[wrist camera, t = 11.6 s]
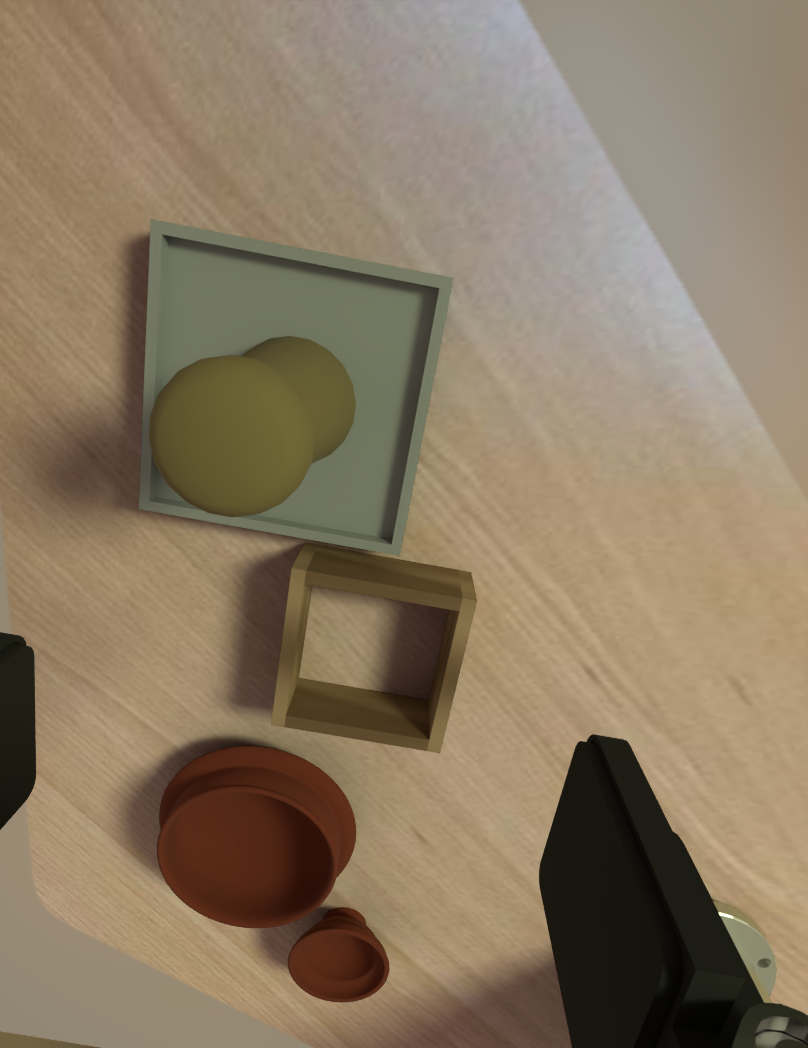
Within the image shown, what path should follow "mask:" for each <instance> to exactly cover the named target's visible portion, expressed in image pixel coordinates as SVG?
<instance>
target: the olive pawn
mask: <svg viewBox="0 0 808 1048" xmlns="http://www.w3.org/2000/svg"><path fill="white" fill-rule="evenodd" d="M355 408H356V401H355V395H354V388H353V383H352V381H351V379H350V377H349V375H348V373H347V371H346V369H345V367H344V365H343V364H342V363H341V362H340V361H339V360H338V359H337V358H336V357H335V356H334V355H333V354H332V353H331V352H330V351H329V350H328V349H326V348H325V347H323V346H321V345H319V344H317V343H316V342H314V341H312V340H310V339H305V338H299V337H294V336H284V337H277V338H270V339H268V340H266V341H264V342H262V343H260V344H258V345H256V346H254V347H253V348H251V349H250V350H249V351H247V352H246V353H245V354H243V355H242V356H236V355H226V356H219V357H212V358H205V359H200V360H198V361H196V362H194V363H192V364H190V365H189V366H187V367H185V368H183V369H181V370H179V371H178V372H177V373H176V374H175V375H174V377H173V378H172V379H171V380H170V381H169V382H168V383H167V384H166V385H165V387H164V388H163V389H162V390H161V391H160V393H159V394H158V396H157V399H156V402H155V404H154V407H153V409H152V412H151V414H150V422H149V443H150V447H151V451H152V454H153V458H154V462H155V465H156V466H157V468H158V470H159V471H160V473H161V474H162V476H163V478H164V479H165V481H166V483H167V484H168V486H169V487H171V488H172V489H173V490H174V491H175V492H176V493H177V494H178V495H179V496H180V497H181V498H183V499H184V500H185V501H186V502H187V503H189V504H191V505H193V506H195V507H197V508H199V509H201V510H203V511H205V512H207V513H210V514H216V515H221V516H227V517H240V516H248V515H256V514H260V513H263V512H265V511H267V510H269V509H271V508H273V507H275V506H278V505H280V504H282V503H283V502H284V501H285V500H286V499H287V498H288V497H289V496H290V495H291V494H292V493H293V492H294V491H295V490H296V489H297V488H298V487H299V486H300V484H301V483H302V481H303V479H304V477H305V475H306V473H307V471H308V469H309V467H310V465H311V464H312V463H314V462H316V461H318V460H321V459H323V458H325V457H327V456H329V455H331V454H332V453H333V452H334V451H335V450H336V449H337V448H338V447H339V446H340V445H341V444H342V443H343V442H344V441H345V439H346V437H347V435H348V433H349V431H350V429H351V427H352V425H353V421H354V414H355Z"/></svg>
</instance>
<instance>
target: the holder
mask: <svg viewBox="0 0 808 1048" xmlns="http://www.w3.org/2000/svg"><path fill="white" fill-rule="evenodd" d="M312 585H313V586H319V587H325V588H330V589H336V590H342V591H347V592H353V593H358V594H364V595H370V596H375V597H381V598H387V599H392V600H398V601H404V602H409V603H415V604H421V605H426V606H432V607H438V608H443V609H449V613H448V618H447V622H446V626H445V631H444V635H443V640H442V644H441V648H440V653H439V657H438V662H437V666H436V670H435V675H434V679H433V683H432V688H431V692H430V697H429V700H424V699H418V698H412V697H406V696H400V695H395V694H389V693H383V692H377V691H371V690H365V689H360V688H354V687H348V686H342V685H336V684H331V683H325V682H319V681H313V680H307V679H301V678H299V673H300V666H301V659H302V652H303V645H304V639H305V632H306V625H307V618H308V611H309V604H310V597H311V590H312ZM476 603H477V599H476V594H475V589H474V584H473V579H472V574H471V572H466V571H460V570H455V569H449V568H444V567H438V566H432V565H427V564H421V563H416V562H410V561H404V560H399V559H393V558H388V557H382V556H377V555H371V554H365V553H360V552H354V551H349V550H343V549H337V548H332V547H326V546H321V545H315V544H309V543H305V544H304V546H303V547H302V549H301V551H300V553H299V555H298V557H297V559H296V561H295V563H294V564H293V566H292V568H291V576H290V584H289V591H288V599H287V606H286V614H285V622H284V629H283V637H282V644H281V652H280V660H279V667H278V675H277V682H276V690H275V698H274V705H273V713H272V720H271V725H276V726H282V727H288V728H294V729H300V730H306V731H312V732H318V733H324V734H330V735H335V736H341V737H347V738H353V739H359V740H365V741H371V742H377V743H383V744H389V745H395V746H401V747H407V748H412V749H418V750H424V751H430V752H436V753H440V751H441V747H442V743H443V739H444V734H445V730H446V726H447V722H448V718H449V714H450V710H451V706H452V702H453V697H454V693H455V689H456V685H457V681H458V677H459V673H460V669H461V665H462V660H463V656H464V652H465V648H466V644H467V640H468V636H469V632H470V628H471V623H472V619H473V615H474V611H475V607H476Z"/></svg>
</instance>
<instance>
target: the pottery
mask: <svg viewBox="0 0 808 1048" xmlns="http://www.w3.org/2000/svg"><path fill="white" fill-rule="evenodd" d="M159 821H160V829H161V831H160V834H159V837H158V843H157V857H158V863H159V867H160V870H161V872H162V875H163V877H164V879H165V881H166V882H167V884H168V885H169V887H170V888H171V890H172V891H173V892H174V893H175V894H176V895H177V896H178V897H179V898H180V899H181V900H182V901H183V902H184V903H185V904H186V905H188V906H189V907H190V908H192V909H193V910H195V911H197V912H198V913H200V914H202V915H204V916H206V917H208V918H210V919H212V920H215V921H218V922H221V923H224V924H228V925H232V926H237V927H244V928H269V927H276V926H281V925H285V924H288V923H291V922H294V921H297V920H299V919H301V918H303V917H305V916H306V915H308V914H310V913H311V912H313V911H314V910H315V909H316V908H317V907H319V906H320V905H321V904H322V903H323V901H324V900H325V899H326V898H327V896H328V895H329V893H330V892H331V890H332V888H333V886H334V883H335V880H336V878H337V877H338V876H339V874H340V873H341V872H342V871H343V870H344V868H345V867H346V865H347V863H348V862H349V860H350V858H351V855H352V853H353V850H354V846H355V840H356V824H355V818H354V814H353V811H352V808H351V806H350V804H349V802H348V800H347V798H346V796H345V794H344V793H343V791H342V790H341V789H340V787H339V786H338V785H337V784H336V783H335V782H334V781H333V780H332V779H331V778H330V777H329V776H328V775H327V774H326V773H325V772H323V771H322V770H321V769H319V768H318V767H317V766H315V765H313V764H312V763H310V762H308V761H307V760H305V759H303V758H300V757H298V756H296V755H293V754H291V753H288V752H285V751H281V750H277V749H273V748H267V747H259V746H237V747H229V748H224V749H220V750H216V751H213V752H210V753H207V754H205V755H203V756H201V757H199V758H197V759H195V760H193V761H192V762H190V763H189V764H187V765H186V766H185V767H184V768H182V769H181V770H180V771H179V772H178V773H177V774H176V775H175V776H174V778H173V779H172V780H171V782H170V783H169V785H168V787H167V788H166V790H165V793H164V795H163V798H162V801H161V805H160V813H159ZM288 968H289V972H290V974H291V976H292V978H293V980H294V981H295V983H296V984H297V985H298V986H299V987H300V988H301V989H303V990H304V991H305V992H307V993H308V994H310V995H312V996H314V997H317V998H319V999H322V1000H326V1001H331V1002H353V1001H358V1000H361V999H364V998H367V997H369V996H371V995H372V994H374V993H376V992H377V991H378V990H379V989H380V988H381V987H382V986H383V985H384V983H385V982H386V980H387V977H388V974H389V961H388V958H387V955H386V952H385V950H384V948H383V946H382V944H381V943H380V941H379V940H378V939H377V938H376V937H375V935H374V934H373V932H372V931H371V930H370V929H369V928H368V927H367V926H366V921H365V919H364V917H363V916H362V915H361V914H360V913H359V912H358V911H356V910H354V909H351V908H345V907H340V908H335V909H332V910H330V911H328V912H327V913H326V914H325V915H324V917H323V920H322V921H320V922H318V923H317V924H315V925H314V926H313V927H312V928H311V929H310V930H308V931H307V932H306V933H304V934H303V935H302V936H301V937H300V938H299V939H298V941H297V942H296V944H295V945H294V946H293V948H292V950H291V952H290V954H289V958H288Z"/></svg>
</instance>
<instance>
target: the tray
mask: <svg viewBox="0 0 808 1048" xmlns="http://www.w3.org/2000/svg"><path fill="white" fill-rule="evenodd" d="M452 282H453V278H451V277H445V276H440V275H435V274H430V273H425V272H420V271H415V270H410V269H404V268H399V267H394V266H389V265H384V264H379V263H374V262H368V261H363V260H358V259H353V258H348V257H343V256H338V255H332V254H327V253H322V252H317V251H312V250H307V249H302V248H296V247H291V246H286V245H281V244H276V243H271V242H266V241H260V240H255V239H250V238H245V237H240V236H235V235H230V234H224V233H219V232H214V231H209V230H204V229H199V228H194V227H188V226H183V225H178V224H173V223H168V222H163V221H158V220H152V219H151V227H150V250H149V274H148V298H147V322H146V346H145V370H144V393H143V417H142V441H141V465H140V489H139V509H141V510H147V511H152V512H158V513H163V514H169V515H175V516H180V517H186V518H191V519H197V520H203V521H208V522H214V523H219V524H225V525H230V526H236V527H242V528H247V529H253V530H258V531H264V532H270V533H275V534H281V535H286V536H292V537H297V538H303V539H309V540H314V541H320V542H325V543H331V544H337V545H342V546H348V547H353V548H359V549H364V550H370V551H376V552H381V553H387V554H392V555H398V556H400V552H401V547H402V542H403V536H404V531H405V526H406V521H407V516H408V510H409V505H410V500H411V495H412V490H413V484H414V479H415V474H416V469H417V464H418V459H419V453H420V448H421V443H422V438H423V433H424V427H425V422H426V417H427V412H428V407H429V401H430V396H431V391H432V386H433V381H434V376H435V370H436V365H437V360H438V355H439V350H440V344H441V339H442V334H443V329H444V324H445V318H446V313H447V308H448V303H449V298H450V293H451V287H452ZM284 336H294V337H299V338H305V339H310V340H312V341H314V342H316V343H317V344H319V345H321V346H323V347H325V348H326V349H328V350H329V351H330V352H331V353H332V354H333V355H334V356H335V357H336V358H337V359H338V360H339V361H340V362H341V363H342V364H343V365H344V367H345V369H346V371H347V373H348V375H349V377H350V379H351V381H352V383H353V388H354V395H355V401H356V408H355V414H354V421H353V425H352V427H351V429H350V431H349V433H348V435H347V437H346V439H345V441H344V442H343V443H342V444H341V445H340V446H339V447H338V448H337V449H336V450H335V451H334V452H333V453H332V454H331V455H329V456H327V457H325V458H323V459H321V460H318V461H316V462H314V463H312V464H311V465H310V467H309V469H308V471H307V473H306V475H305V477H304V479H303V481H302V483H301V484H300V486H299V487H298V488H297V489H296V490H295V491H294V492H293V493H292V494H291V495H290V496H289V497H288V498H287V499H286V500H285V501H284V502H283V503H282V504H280V505H278V506H275V507H273V508H271V509H269V510H267V511H265V512H263V513H260V514H256V515H248V516H240V517H227V516H221V515H216V514H210V513H207V512H205V511H203V510H201V509H199V508H197V507H195V506H193V505H191V504H189V503H187V502H186V501H185V500H184V499H183V498H181V497H180V496H179V495H178V494H177V493H176V492H175V491H174V490H173V489H172V488H171V487H169V486H168V484H167V483H166V481H165V479H164V478H163V476H162V474H161V473H160V471H159V470H158V468H157V466H156V465H155V462H154V458H153V454H152V451H151V447H150V443H149V422H150V414H151V412H152V409H153V407H154V404H155V402H156V399H157V396H158V394H159V393H160V391H161V390H162V389H163V388H164V387H165V385H166V384H167V383H168V382H169V381H170V380H171V379H172V378H173V377H174V375H175V374H176V373H177V372H178V371H179V370H181V369H183V368H185V367H187V366H189V365H190V364H192V363H194V362H196V361H198V360H200V359H205V358H212V357H219V356H226V355H236V356H242V355H243V354H245V353H246V352H247V351H249V350H250V349H251V348H253V347H254V346H256V345H258V344H260V343H262V342H264V341H266V340H268V339H270V338H277V337H284Z"/></svg>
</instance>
